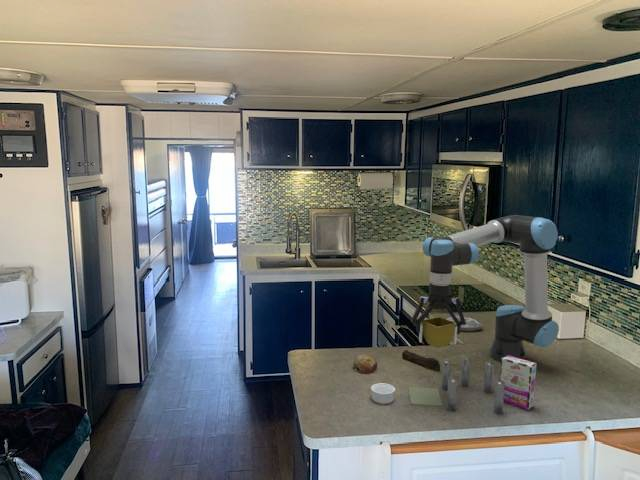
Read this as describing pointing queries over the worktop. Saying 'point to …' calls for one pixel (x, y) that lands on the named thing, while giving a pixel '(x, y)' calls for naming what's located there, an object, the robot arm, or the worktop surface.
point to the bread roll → (365, 364)
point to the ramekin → (382, 393)
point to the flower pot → (438, 331)
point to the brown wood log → (422, 360)
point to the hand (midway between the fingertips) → (437, 342)
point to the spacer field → (451, 384)
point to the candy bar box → (518, 381)
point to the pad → (424, 396)
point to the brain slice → (468, 324)
